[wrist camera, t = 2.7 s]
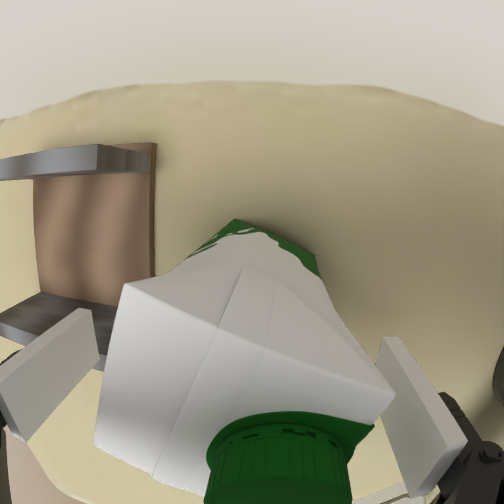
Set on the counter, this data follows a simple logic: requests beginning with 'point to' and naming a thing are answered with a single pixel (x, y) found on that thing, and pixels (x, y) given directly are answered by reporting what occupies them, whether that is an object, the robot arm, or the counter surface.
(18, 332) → the carton caddy
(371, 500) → the grater
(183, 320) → the soya milk
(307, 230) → the counter surface
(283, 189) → the counter surface
